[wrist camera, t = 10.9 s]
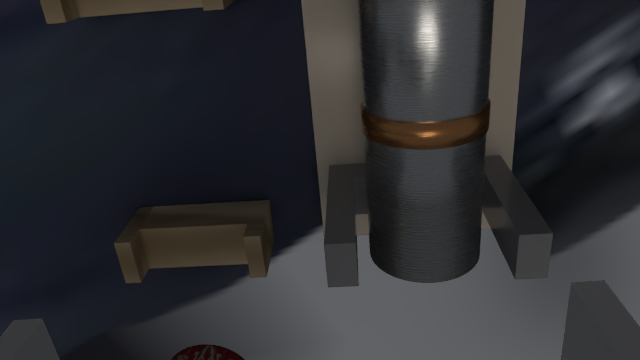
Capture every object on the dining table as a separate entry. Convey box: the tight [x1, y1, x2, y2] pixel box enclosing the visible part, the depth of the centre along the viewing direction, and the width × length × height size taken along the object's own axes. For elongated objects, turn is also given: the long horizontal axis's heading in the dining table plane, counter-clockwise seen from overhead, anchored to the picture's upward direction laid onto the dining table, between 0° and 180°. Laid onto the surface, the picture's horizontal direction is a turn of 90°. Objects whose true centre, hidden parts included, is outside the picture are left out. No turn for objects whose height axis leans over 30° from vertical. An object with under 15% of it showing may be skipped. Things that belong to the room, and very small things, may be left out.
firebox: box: [301, 0, 553, 287], centre depth 26 cm, size 22×12×10 cm, turn 5°
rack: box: [40, 0, 275, 283], centre depth 31 cm, size 19×9×4 cm, turn 5°
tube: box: [357, 0, 494, 283], centre depth 25 cm, size 22×6×6 cm, turn 5°
